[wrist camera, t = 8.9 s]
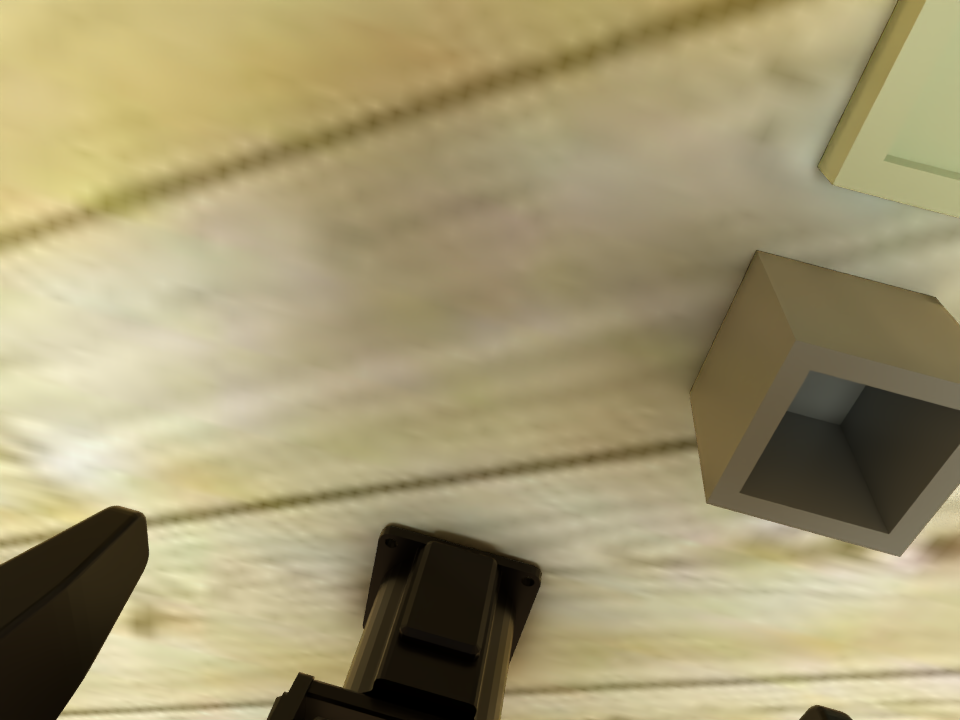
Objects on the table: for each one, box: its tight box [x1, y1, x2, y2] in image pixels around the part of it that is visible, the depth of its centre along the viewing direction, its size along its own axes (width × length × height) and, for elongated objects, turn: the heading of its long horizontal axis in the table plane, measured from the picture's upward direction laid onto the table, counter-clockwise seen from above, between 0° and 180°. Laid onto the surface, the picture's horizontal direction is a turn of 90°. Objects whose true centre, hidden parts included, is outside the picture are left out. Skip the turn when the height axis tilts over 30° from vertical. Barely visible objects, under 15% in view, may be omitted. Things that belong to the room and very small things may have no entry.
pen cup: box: [690, 250, 960, 557], centre depth 18 cm, size 5×5×5 cm
